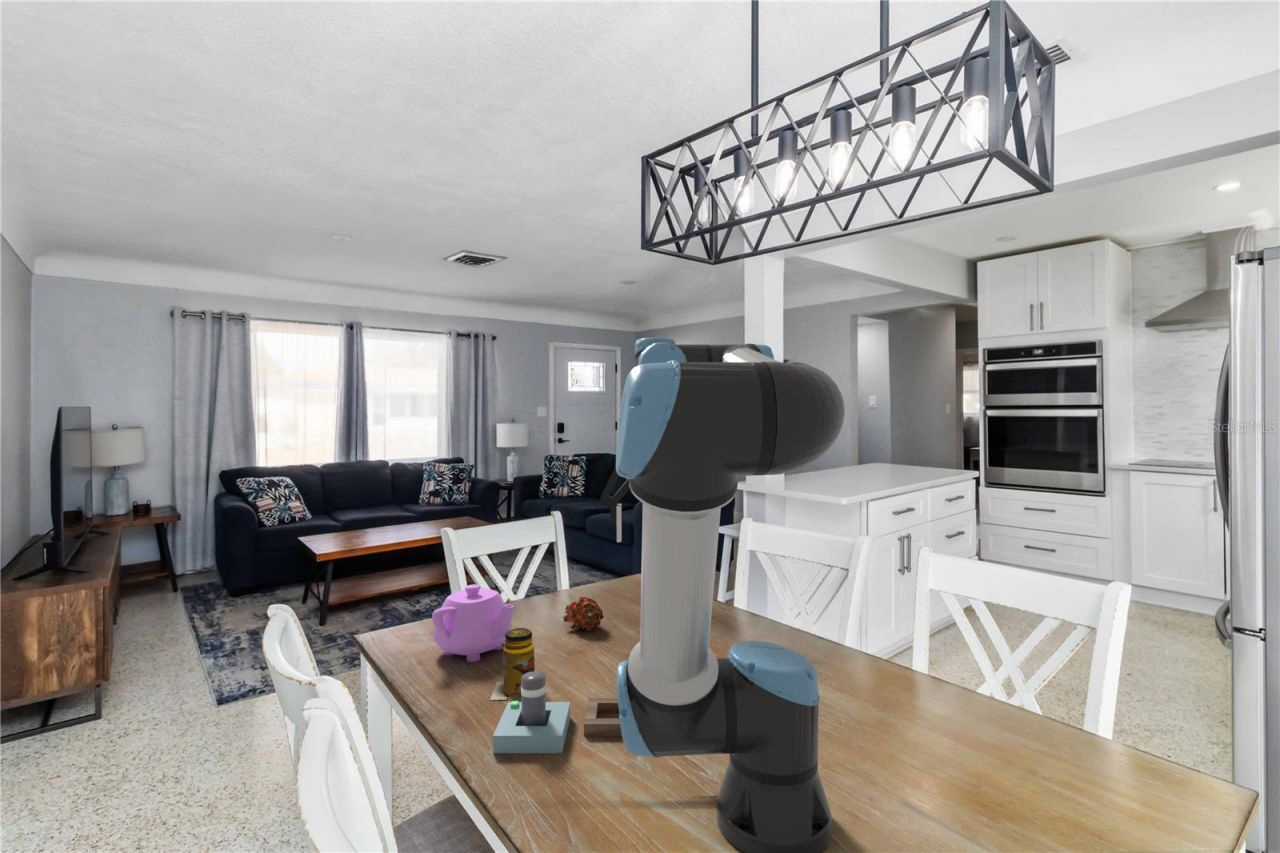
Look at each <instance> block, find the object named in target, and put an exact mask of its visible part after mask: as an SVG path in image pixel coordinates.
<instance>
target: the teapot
mask: <svg viewBox="0 0 1280 853" xmlns="http://www.w3.org/2000/svg"><path fill="white" fill-rule="evenodd" d="M515 607H516V606H515V605H512V604H510V603H507V604H506V603H505V601H504V599H503V597H502V596H501V594H500V593H499V591H497V590H495V589H494V590H493V589H490V588H485V587H484V588H483V587H481V585H480V584H469V585H466V586H465V587H464V589H463V590H459V591H457V592H453V593H451V594H450V595H447V597H446V598H445V600H444V602H443V604H442V605H441V607H439V608H437V609H434V611H433V612H432V614H431V620H432V624H433V625H434V629H433V640H434V642H435V644H437V646H438V647H439V648H440V649H441V650H442V651H444V652H443V653H442V654H443V655H444V656H453V655H459V656H466V662H469V663H475V662H478V661H480V660H481V659H482V658H481V654H482V653H485V652H489V651H499V650H503V648H504V646H503V643H505V640H506V639H505V634H506V632H507V631H509V630H511V629H513V628H512V618H513V615H514V611H515V609H516V608H515Z"/></svg>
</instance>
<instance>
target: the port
mask: <svg viewBox="0 0 1280 853" xmlns="http://www.w3.org/2000/svg"><path fill="white" fill-rule="evenodd" d="M570 721H571V701H546V726H522V702H521V701H519V700H512V701H508V702H507V703H506V706H505V708H504V711H503V713H502V715H501V717H500V719H499V721H498V723H497V726H496V728H495V731H494V732H493V735H492V752H493V753H492V754H563V750H564V747H565V742H566V738H567V735H568V734H567V733H568V729H569V725H570Z"/></svg>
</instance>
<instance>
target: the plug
mask: <svg viewBox="0 0 1280 853" xmlns="http://www.w3.org/2000/svg"><path fill="white" fill-rule="evenodd" d="M546 685H547V684H546V674H545V673H543V672H541V671H535V672H528V673H526V674H524V675H522V677H521V692H520V694H521V701H520V702H522V726H546V702H547V701H546V697H547V696H546V694H547V692H546V691H547V688H546V687H547V686H546Z"/></svg>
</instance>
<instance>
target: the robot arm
mask: <svg viewBox="0 0 1280 853" xmlns="http://www.w3.org/2000/svg"><path fill="white" fill-rule="evenodd" d="M633 354H634V355H633V360H634V361H633V362H634V367H633V368H632V369H631V370H630V371H629V373H628V375H627V377H626V379H625V383H624V387H623V392H622V397H621V404H620V412H619V417H618V418H619V419H618V429H617V430H618V432H617V438H616V439H617V440H616V450H615V467H614V469H613V471H612V473H611V476H610V478H609V479H608V481H607V484H606V486H605V487H604V489H603V492H602V494H601V496H600V498H599V499H600V502H601V503H605V504H608V505H609V507H610V508H609V510H610V517H609V518H610V523H611V524H616V543H621V542H622V503H619V502H620V501H621V499H622V498H623V497H624V496H625V494H626V493H627V492H628V491H629V490H630V492H631V494H632V495H633V496H634V497H635V498H636V499H637V500H639V501H640V502H641V503H642V518H641V519H642V524H641V526H642V529H641V532H642V533H641V569H640V570H641V573H640V574H641V575H640V576H641V580H640V582H641V583H640V620H639V621H640V628H639V629H640V630H639V631H640V632H639V633H640V634H639V641H638V642H637V643H636V644H635V645H634V647H633V648H632V649H631V652H630V654H629V656H628V659H626V660H624V661H621V662H619V663H618V665H617V667H616V668H617V669H616V693H617V694H616V695H617V698H618V706H619V714H620V725H621V732H622V736H621V738H622V741H623V745H624V747H625V749H626V751H627V752H628V753H629V754H631V755H632V756H636V757H652V758H654V759H656V758H660V757H677V756H679V757H680V756H698V755H700V756H701V755H725V754H726V755H727V754H729V761H728V764H727V767H726V770H725V773H724V776H723V779H722V782H721V784H720V788H719V791H718V793H717V798H716V822H717V825H718V828H719V830H720V832H721V834H722V835H723V836H724V838H725V839H726V840H727V841H728V842H729V843H730V844H731V845H732V846H734V847H735V848H736V849H738V850H739V851H741V852H743V853H822V852H823V851H824V850H826V848H827V847H828V845H829V843H830V842H831V839H832V812H831V807H830V805H829V802H828V798H827V796H826V793H825V789H824V786H823V783H822V779H821V777H820V773H819V766H818V765H819V759H818V758H819V704H820V701H821V698H820V694H819V682H818V673H817V670H816V668H815V666H814V664H812V662H811V661H810V660H809V659H808V658H807V657H806V656H804V655H802V654H801V653H800V652H799V651H798V652H797V651H796V650H794V649H791V648H789V647H786V646H784V645H780V644H777V643H772V642H768V641H761V640H744V641H740V642H739V643H738V642H737V643H734V644H733V645H732V646H731V647H730V649H729V651H728V653H727V657H724V658H723V657H720V658H717V657H716V654H715V653H714V651H713V650H712V648H711V647H710V639H711V638H710V636H711V623H712V613H713V600H714V599H713V598H714V590H715V578H716V566H717V557H718V556H717V555H718V545H719V533H720V520H721V511H722V510H721V509H722V508H723V507H725V506H727V505H728V504H729V503H730V502H732V500H733V499H734V498H735V496H736V495H737V491H738V484H739V477H748V476H749V477H752V476H776V475H784V474H789V473H792V472H795V471H797V470H801V469H803V468H805V467H807V466H809V465H810V464H812V463H814V462H815V461H817V460H818V459H820V458H821V457H822V456H823V455H824V454H826V452H827V451H828V450H829V449H830V448H831V447H832V446H833V444H834V443H835V442H836V440H837V438H838V437H839V435H840V434H841V430H842V428H843V425H844V421H845V411H846V410H845V409H846V408H845V401H844V398H843V394H842V391H841V390H840V388H839V386H838V384H837V383H836V382H835V381H834V379H833V378H832V377H831V376H829V375H828V373H826V372H824V371H823V370H822V369H819V368H817V367H815V366H812V365H810V364H807V363H803V362H796V361H791V362H782V361H779V360H777V359H775V356H774V353H773V350H772V348H771V347H770V346H768V345H767V344H756V343H745V344H744V343H743V344H731V343H730V344H705V343H704V344H692V343H691V344H685V343H684V344H683V343H682V344H680V343H679V344H676V341H675V340H674V339H673V338H670V337H661V336H660V337H658V336H657V337H643V338H640V339H637V340H636V341H635V345H634V353H633ZM619 477H621V478H625V479H626V481H625V482H624V483H623V484H622V485H621V487H619V489H618V490H617V491H616V493H614V495H613V496H611V495H610V494H611V492H612V491H613V488H614V487H615V484H616V482H617V480H618V478H619Z"/></svg>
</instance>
